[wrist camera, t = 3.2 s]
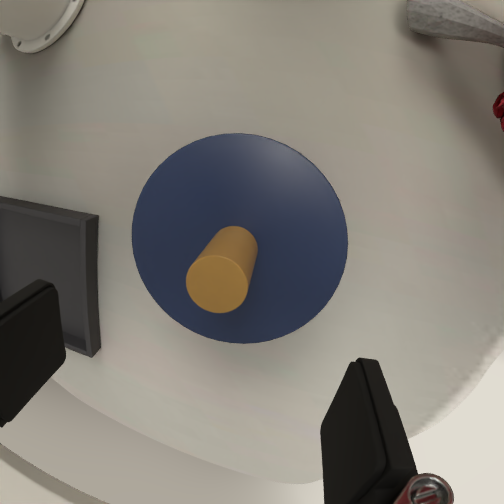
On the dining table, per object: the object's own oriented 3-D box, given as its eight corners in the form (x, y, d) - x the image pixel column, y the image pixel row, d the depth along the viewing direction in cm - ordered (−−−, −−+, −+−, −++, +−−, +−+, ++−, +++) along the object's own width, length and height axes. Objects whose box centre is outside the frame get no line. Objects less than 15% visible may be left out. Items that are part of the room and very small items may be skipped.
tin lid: (134, 310, 23) (91, 360, 16) (152, 121, 18) (96, 112, 12) (313, 350, 22) (320, 415, 16) (366, 161, 18) (406, 166, 12)
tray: (3, 306, 37) (-7, 313, 35) (-8, 194, 32) (-20, 197, 30) (101, 347, 37) (92, 358, 34) (98, 215, 31) (86, 220, 29)
